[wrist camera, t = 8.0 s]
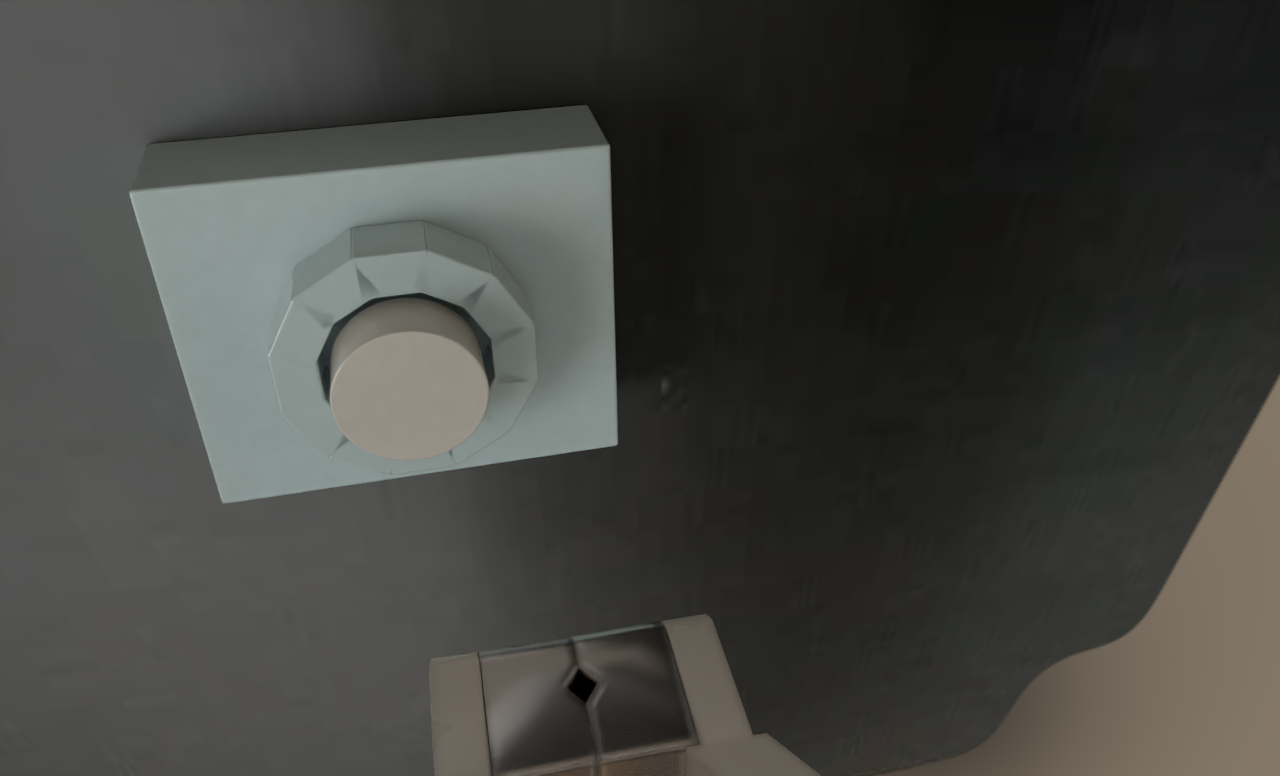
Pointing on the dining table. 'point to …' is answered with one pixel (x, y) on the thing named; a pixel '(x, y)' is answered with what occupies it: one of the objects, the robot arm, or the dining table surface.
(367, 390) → the flush button
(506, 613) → the dining table surface
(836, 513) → the dining table surface
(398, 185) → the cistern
